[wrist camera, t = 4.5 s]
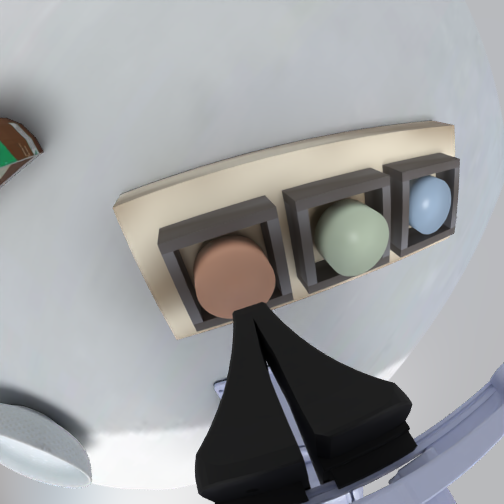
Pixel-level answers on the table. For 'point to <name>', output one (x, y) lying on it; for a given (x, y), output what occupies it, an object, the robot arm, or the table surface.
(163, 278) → the button board
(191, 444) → the table surface
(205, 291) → the button terracotta
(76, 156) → the table surface
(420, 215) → the button blue
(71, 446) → the cereal bowl
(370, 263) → the button sage
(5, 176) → the food container
